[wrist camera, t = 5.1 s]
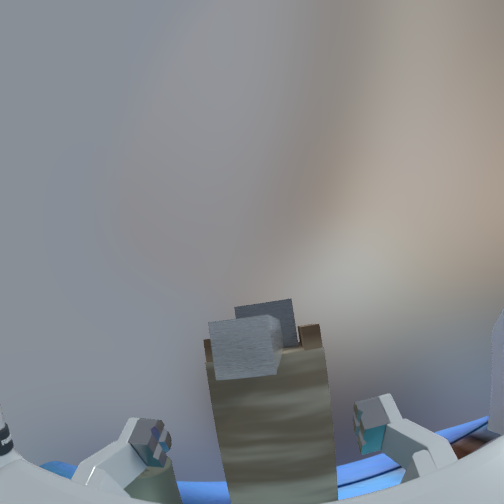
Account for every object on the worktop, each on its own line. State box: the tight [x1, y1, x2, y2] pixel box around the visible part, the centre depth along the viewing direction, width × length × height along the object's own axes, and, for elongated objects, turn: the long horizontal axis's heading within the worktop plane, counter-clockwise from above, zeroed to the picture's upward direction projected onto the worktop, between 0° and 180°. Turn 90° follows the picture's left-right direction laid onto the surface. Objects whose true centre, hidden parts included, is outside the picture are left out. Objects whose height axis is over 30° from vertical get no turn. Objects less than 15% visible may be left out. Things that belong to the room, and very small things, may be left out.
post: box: [204, 324, 338, 504], centre depth 26 cm, size 12×10×27 cm
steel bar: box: [208, 299, 298, 380], centre depth 24 cm, size 22×6×5 cm, turn 172°
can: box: [123, 456, 183, 504], centre depth 24 cm, size 9×9×12 cm
